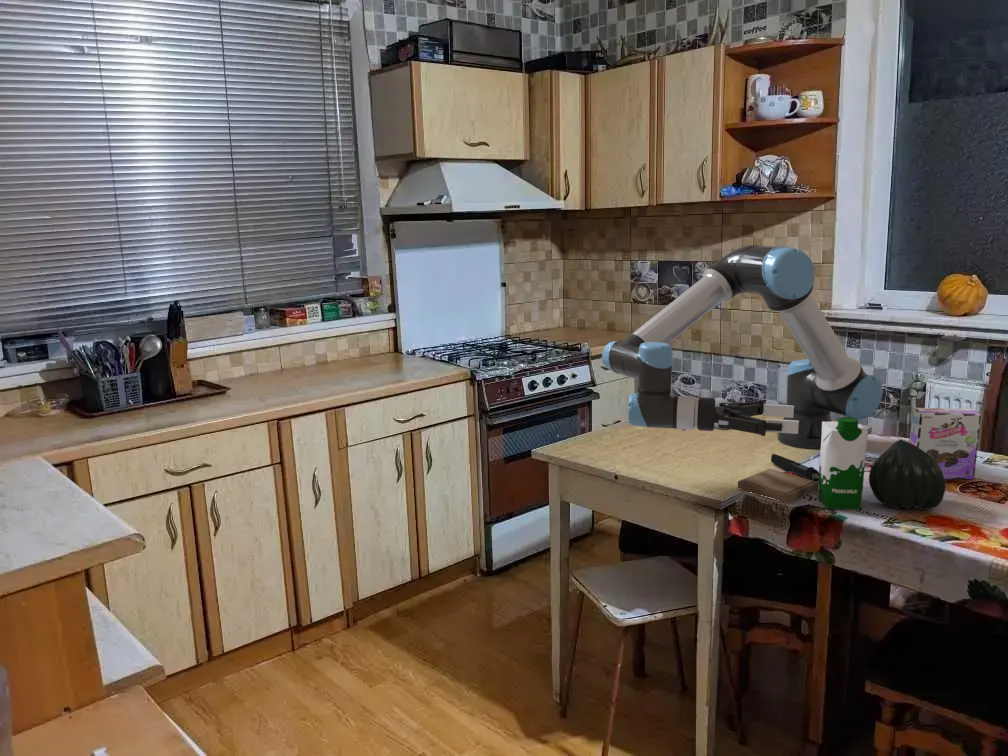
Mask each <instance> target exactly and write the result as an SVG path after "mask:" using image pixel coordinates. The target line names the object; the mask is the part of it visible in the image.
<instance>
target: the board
mask: <svg viewBox="0 0 1008 756" xmlns="http://www.w3.org/2000/svg"><path fill="white" fill-rule="evenodd" d="M738 488H740V489H742V490H744V491H743V492H745V491H747V492H746V493H749V492H752V493H755V494H758V495H757V496H759V495H763V496H767V497H771V498H774V499H776V500H779V501H782V502H785V503H784V504H786V503H787V504H786V505H789V504H791V503H793V502H795V501H797V500H796V499H798V500H799V498H800V499H802V498H804V497H806V496H808V494H809V495H811V494H813V493H815V492H817V491H819V481H813V480H809V479H807V478H804V477H802V476H799V475H793V474H790V473H786V472H782V471H779V470H775V469H772V468H771V469H770V468H768V469H765V470H763V471H760V472H758V473H755V474H752V475H750V476H748V477H745V478H743V479H739V480H738V481H737V489H738ZM742 490H741V491H742ZM812 492H813V493H812ZM752 493H751V494H752ZM810 493H811V494H810ZM755 494H754V495H755ZM805 495H806V496H805ZM803 496H804V497H803ZM801 497H802V498H801ZM776 500H775V501H776ZM794 500H795V501H794ZM779 501H778V502H779ZM792 501H793V502H792ZM782 502H781V503H782ZM790 502H791V503H790ZM788 503H789V504H788Z"/></svg>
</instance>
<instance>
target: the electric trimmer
mask: <svg viewBox="0 0 1008 756" xmlns="http://www.w3.org/2000/svg"><path fill="white" fill-rule="evenodd" d="M770 461H771V463H772V464H774V465H775V466H777V467H779V468H780V469H782V470H784V471H785V470H786V472H789V471H791V472H792V473H793V474H796V475H797V476H799V477H802V478H806V479H809V480H813V481H817V482H819V470H817V469H815V467H812V466H807V465H804V464H802V463H800V462H796V461H795V460H792V459H790V458H786V457H784V456H781V455H779V454H776V453H772V454H771V456H770ZM791 472H790V473H791Z"/></svg>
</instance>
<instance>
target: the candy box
mask: <svg viewBox="0 0 1008 756" xmlns="http://www.w3.org/2000/svg"><path fill="white" fill-rule="evenodd" d="M981 419H982V415H981V413H979V412H978V411H976V410H975V409H973V408H969V407H968V408H947V407H946V408H944V407H943V408H942V407H939V408H938V407H937V408H936V407H935V408H934V407H933V408H932V407H912V411H911V421H910V432H909V439H908V442H909V443H911V444H913V445H915V446H916V447H918V448H920V449H921V450H923V451H924V452H926V453H927V454H929V455H930V456H931V457H932V458H934V459H935V460H936V462H937V463H938V464H939V466H940V468H941V471H942V473H943V476H944V480H965V479H974V480H975V473H976V465H977V455H978V446H979V436H980V430H981V429H980V427H981Z"/></svg>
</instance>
